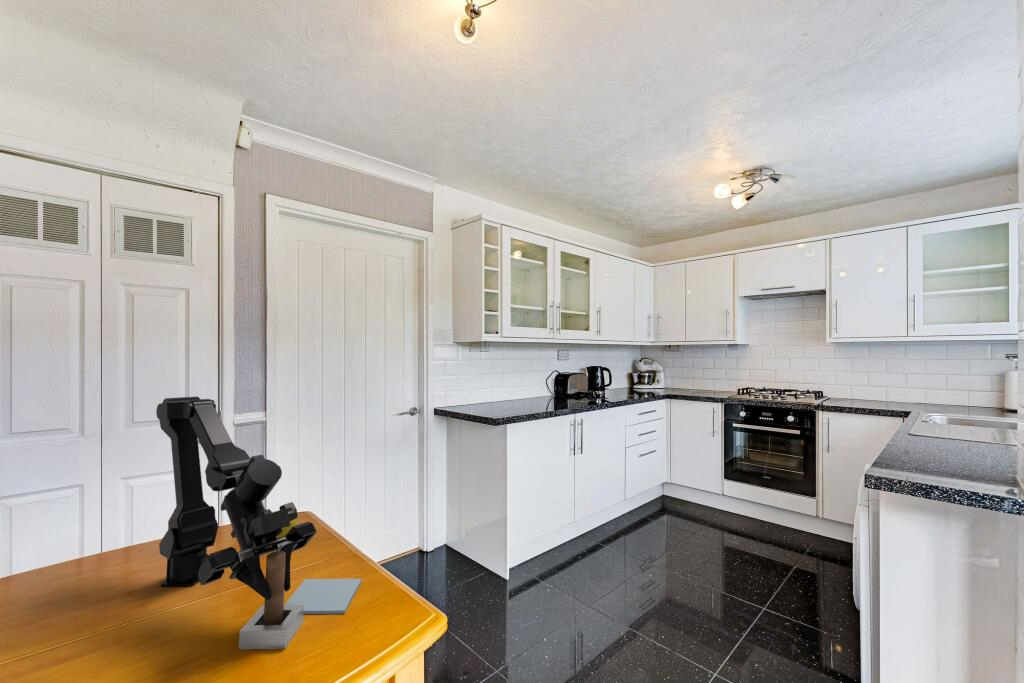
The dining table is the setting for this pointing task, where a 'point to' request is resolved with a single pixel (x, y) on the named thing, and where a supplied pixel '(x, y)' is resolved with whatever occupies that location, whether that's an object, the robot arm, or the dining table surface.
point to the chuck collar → (271, 629)
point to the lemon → (287, 528)
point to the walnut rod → (275, 588)
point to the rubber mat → (325, 595)
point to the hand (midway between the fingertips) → (279, 594)
